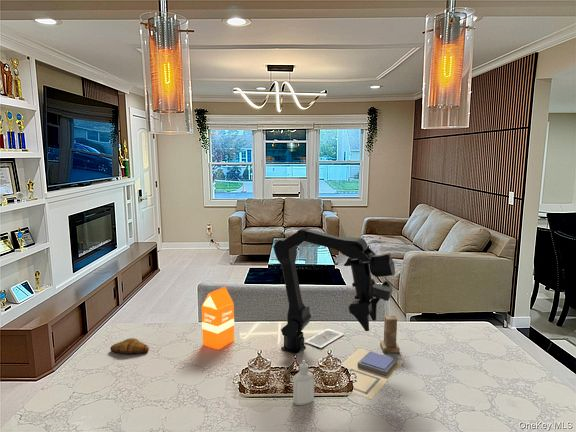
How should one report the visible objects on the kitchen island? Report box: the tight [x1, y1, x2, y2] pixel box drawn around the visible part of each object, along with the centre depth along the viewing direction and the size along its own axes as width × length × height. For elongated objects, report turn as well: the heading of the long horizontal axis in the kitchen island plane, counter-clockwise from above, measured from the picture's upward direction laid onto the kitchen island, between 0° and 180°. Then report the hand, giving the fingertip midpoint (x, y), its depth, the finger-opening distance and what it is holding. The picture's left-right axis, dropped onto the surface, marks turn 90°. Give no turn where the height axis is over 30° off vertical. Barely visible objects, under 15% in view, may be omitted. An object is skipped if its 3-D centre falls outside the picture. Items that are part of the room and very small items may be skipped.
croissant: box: [110, 337, 150, 355], centre depth 138 cm, size 14×7×5 cm, turn 86°
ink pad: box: [358, 350, 398, 376], centre depth 129 cm, size 10×10×2 cm
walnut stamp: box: [379, 314, 401, 354], centre depth 139 cm, size 6×6×12 cm
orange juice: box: [201, 286, 235, 350], centre depth 144 cm, size 8×9×20 cm
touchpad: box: [304, 327, 344, 349], centre depth 148 cm, size 8×15×2 cm, turn 139°
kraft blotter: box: [341, 348, 404, 400], centre depth 126 cm, size 16×26×1 cm, turn 145°
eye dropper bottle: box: [292, 359, 315, 406], centre depth 109 cm, size 4×6×12 cm
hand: (370, 325), depth 127 cm, fingers open, 9 cm apart
